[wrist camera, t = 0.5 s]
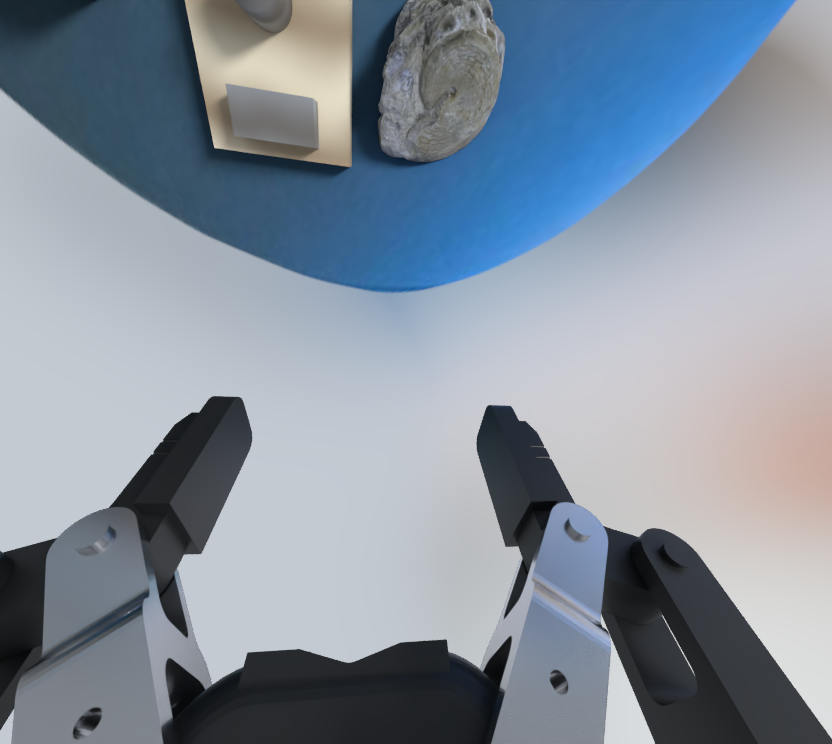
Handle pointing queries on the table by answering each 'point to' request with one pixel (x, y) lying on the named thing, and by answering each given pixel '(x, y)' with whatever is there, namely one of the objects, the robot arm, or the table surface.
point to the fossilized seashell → (439, 78)
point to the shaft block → (277, 76)
